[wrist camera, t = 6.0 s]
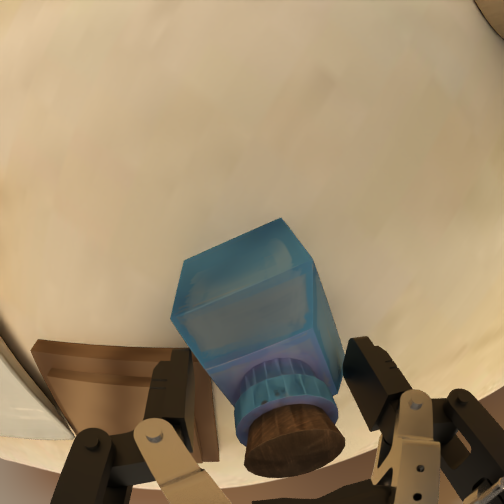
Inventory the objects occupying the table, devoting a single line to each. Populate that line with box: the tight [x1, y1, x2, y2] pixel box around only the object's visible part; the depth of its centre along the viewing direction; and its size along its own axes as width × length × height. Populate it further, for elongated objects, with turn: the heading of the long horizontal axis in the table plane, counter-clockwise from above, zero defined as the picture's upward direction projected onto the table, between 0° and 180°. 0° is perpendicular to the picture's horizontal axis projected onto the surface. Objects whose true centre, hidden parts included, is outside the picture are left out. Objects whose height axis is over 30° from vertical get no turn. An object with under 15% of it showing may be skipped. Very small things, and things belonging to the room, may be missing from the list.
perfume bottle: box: [170, 218, 345, 478], centre depth 13 cm, size 6×6×12 cm
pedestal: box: [30, 339, 219, 463], centre depth 21 cm, size 14×14×2 cm
